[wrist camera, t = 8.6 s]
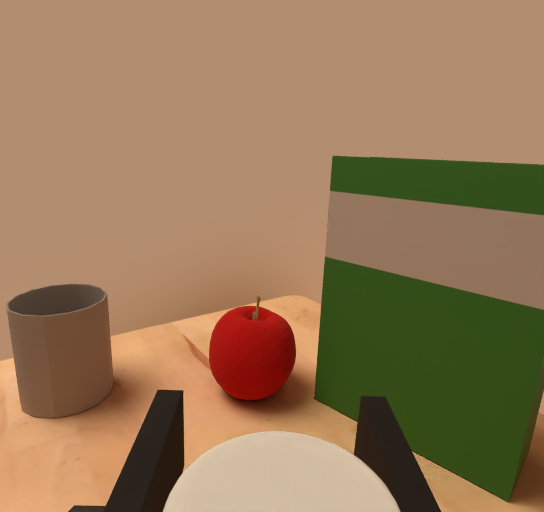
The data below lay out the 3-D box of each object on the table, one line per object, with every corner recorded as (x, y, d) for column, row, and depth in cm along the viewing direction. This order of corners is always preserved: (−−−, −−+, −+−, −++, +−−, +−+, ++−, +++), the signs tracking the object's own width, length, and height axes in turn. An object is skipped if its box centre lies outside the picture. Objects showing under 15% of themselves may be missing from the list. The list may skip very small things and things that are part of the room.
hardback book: (314, 398, 40) (332, 155, 34) (352, 371, 46) (374, 157, 40) (508, 501, 29) (588, 167, 23) (529, 449, 34) (598, 167, 28)
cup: (65, 363, 45) (56, 280, 42) (129, 376, 43) (123, 289, 40) (-2, 408, 37) (-18, 308, 34) (73, 426, 35) (62, 322, 33)
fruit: (311, 398, 41) (318, 306, 38) (231, 426, 36) (233, 325, 33) (265, 357, 48) (268, 279, 45) (194, 376, 43) (193, 290, 41)
